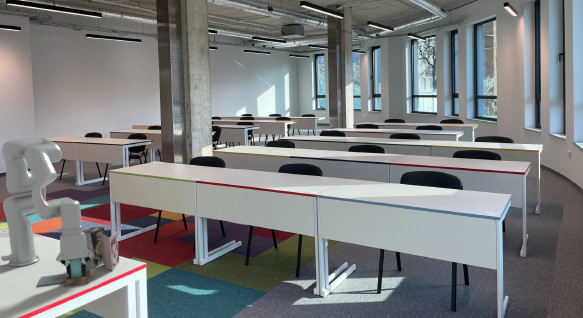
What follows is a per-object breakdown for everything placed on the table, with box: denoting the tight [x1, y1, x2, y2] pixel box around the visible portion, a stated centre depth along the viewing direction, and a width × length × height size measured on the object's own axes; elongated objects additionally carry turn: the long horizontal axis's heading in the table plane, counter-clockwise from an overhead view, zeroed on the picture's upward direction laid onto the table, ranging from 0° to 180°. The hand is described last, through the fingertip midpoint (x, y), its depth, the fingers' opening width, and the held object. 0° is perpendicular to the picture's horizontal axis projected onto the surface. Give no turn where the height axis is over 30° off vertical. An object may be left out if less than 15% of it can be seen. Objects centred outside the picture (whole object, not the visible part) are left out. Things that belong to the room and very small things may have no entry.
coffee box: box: [83, 226, 106, 268], centre depth 216 cm, size 9×6×16 cm
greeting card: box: [100, 230, 120, 272], centre depth 211 cm, size 11×7×15 cm, turn 5°
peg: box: [69, 258, 83, 279], centre depth 196 cm, size 5×5×10 cm
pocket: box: [63, 269, 91, 288], centre depth 197 cm, size 9×9×2 cm
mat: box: [36, 272, 67, 288], centre depth 198 cm, size 10×10×1 cm
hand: (76, 273), depth 196 cm, fingers closed on peg, 4 cm apart
